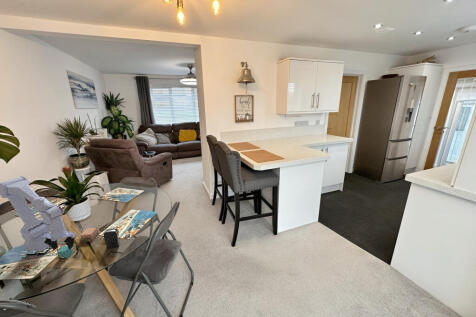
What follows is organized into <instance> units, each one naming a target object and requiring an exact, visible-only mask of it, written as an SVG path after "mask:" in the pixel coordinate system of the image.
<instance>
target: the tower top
mask: <svg viewBox="0 0 476 317" xmlns="http://www.w3.org/2000/svg"><path fill="white" fill-rule="evenodd" d="M97 231H98V228H97V227H92V228H91V227H89V228H85V229H84V230H83V231H82V233H81V234H80V238H92V237H93V236H94V234H95V233H96V232H97Z"/></svg>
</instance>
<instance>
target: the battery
mask: <svg viewBox="0 0 476 317" xmlns="http://www.w3.org/2000/svg"><path fill="white" fill-rule="evenodd" d="M119 233H120V232H119V229H118V228H107V229H106V230H105V231H104V232H103V234H102V235H103V240H104V243H105V247H106V248H107V249H109V248H110V249H113V248H119V247H120V244H121V243H120V239H119V238H120V237H119V235H120V234H119Z"/></svg>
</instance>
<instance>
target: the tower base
mask: <svg viewBox="0 0 476 317" xmlns="http://www.w3.org/2000/svg"><path fill="white" fill-rule="evenodd" d="M98 233H99V234H100V231H99V230H97V232H96V233H95V234H94V236H93V237H92V238H81V237H80V238H79V239H78V240H79V243H86V242H93V241H94V240H95V239H96V238H97V236H98V235H99V234H98Z"/></svg>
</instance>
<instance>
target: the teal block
mask: <svg viewBox="0 0 476 317" xmlns="http://www.w3.org/2000/svg"><path fill="white" fill-rule="evenodd" d="M56 254H57V257H58V256H60V257H64V258H67V259H68V258H70V256H71V255H72V254H73V249H72V248H71V249H69V248H68V246H67V245H63V246H61V247H60V248H59V249H58V250H57V252H56Z"/></svg>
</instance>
